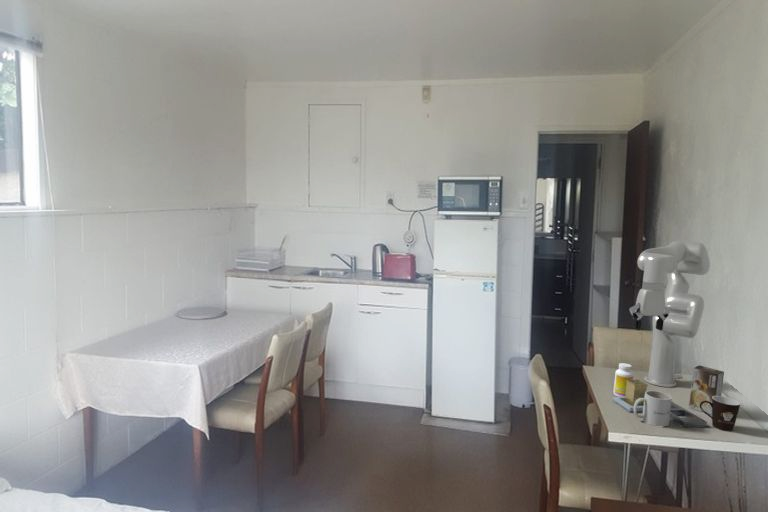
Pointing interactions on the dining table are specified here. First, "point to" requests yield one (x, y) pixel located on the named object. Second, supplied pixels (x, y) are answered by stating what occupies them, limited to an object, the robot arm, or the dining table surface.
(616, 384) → the supplement bottle
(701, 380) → the coffee box
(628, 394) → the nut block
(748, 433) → the dining table surface
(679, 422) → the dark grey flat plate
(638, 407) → the parts tray
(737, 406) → the coffee mug
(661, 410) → the mug
